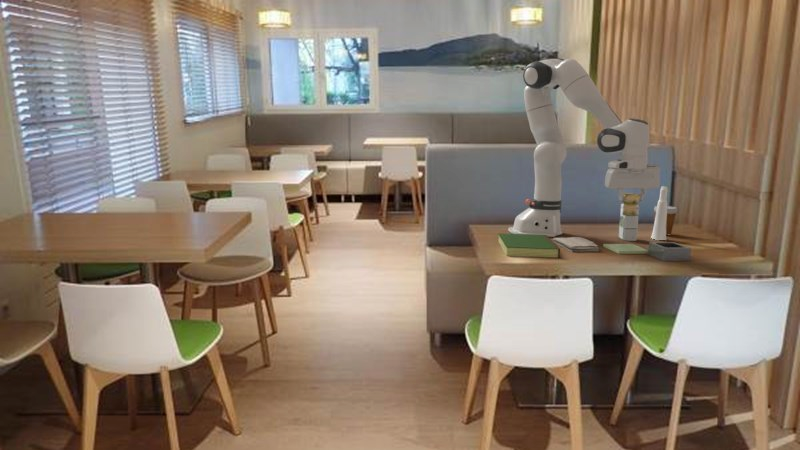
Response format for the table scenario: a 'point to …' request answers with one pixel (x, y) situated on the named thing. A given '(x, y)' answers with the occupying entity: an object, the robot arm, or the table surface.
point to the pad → (626, 248)
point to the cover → (630, 204)
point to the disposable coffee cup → (669, 218)
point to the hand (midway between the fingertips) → (630, 200)
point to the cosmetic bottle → (661, 216)
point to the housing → (669, 251)
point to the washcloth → (576, 244)
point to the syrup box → (628, 226)
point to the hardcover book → (528, 245)
